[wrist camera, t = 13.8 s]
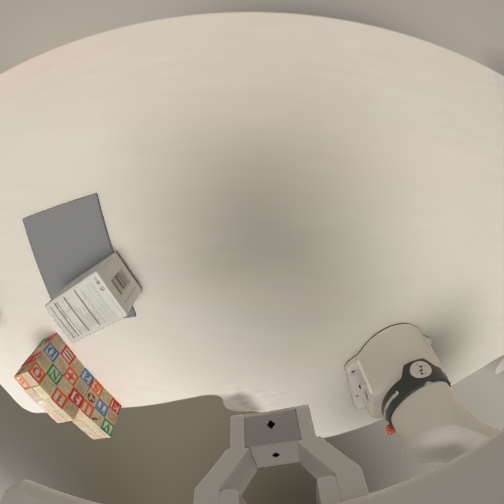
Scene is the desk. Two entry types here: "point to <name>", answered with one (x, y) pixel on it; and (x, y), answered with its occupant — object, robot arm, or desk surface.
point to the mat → (69, 241)
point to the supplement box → (94, 299)
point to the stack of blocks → (68, 389)
